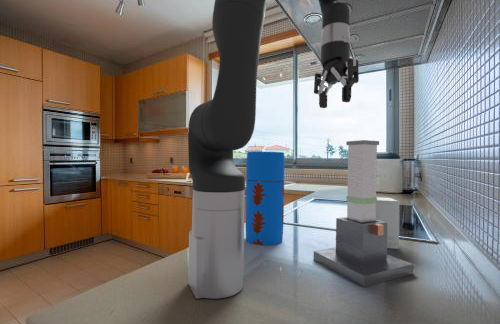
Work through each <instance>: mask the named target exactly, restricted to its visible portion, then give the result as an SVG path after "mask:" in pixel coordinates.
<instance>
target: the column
mask: <svg viewBox="0 0 500 324" xmlns="http://www.w3.org/2000/svg"><path fill="white" fill-rule="evenodd" d="M345 143H346V145H345V146H348V148H347V149H348V151H347V152H348V153H347V157H348V158H347V195H346V198H345V199H346V201H345V202H347V206H346V207H347V208H346V210H347V215H346V217H347V220H350V221H353V222H357V223H361V224H367V223H375V222H376V203H377V198H376V197H377V170H378V169H377V167H378V165H377V163H378V162H377V161H378V160H377V157H378V155H377V154H378V146H380V140H367V139H365V140H364V139H360V140H350V141H346V142H345Z"/></svg>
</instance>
